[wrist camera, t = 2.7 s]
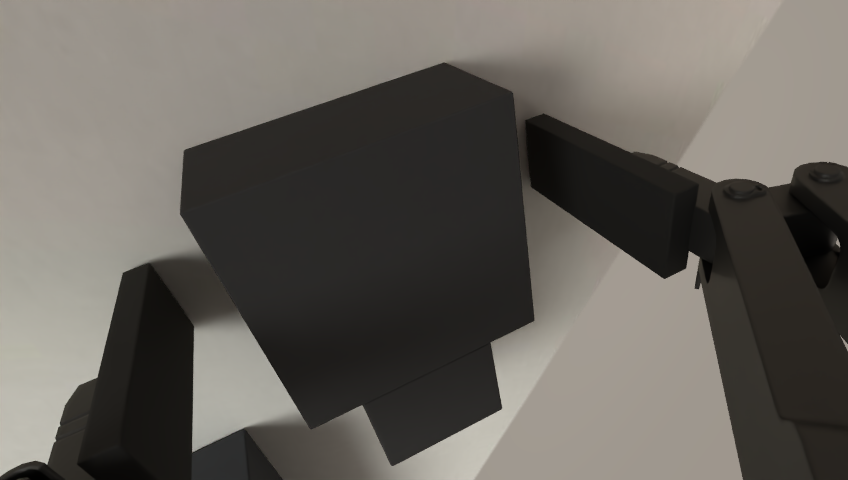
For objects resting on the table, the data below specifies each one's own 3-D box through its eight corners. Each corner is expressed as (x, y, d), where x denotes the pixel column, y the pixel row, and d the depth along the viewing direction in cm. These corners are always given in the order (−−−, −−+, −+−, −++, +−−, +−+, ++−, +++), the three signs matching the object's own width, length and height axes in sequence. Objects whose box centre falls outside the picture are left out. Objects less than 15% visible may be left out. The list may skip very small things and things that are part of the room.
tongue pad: (182, 149, 13) (178, 213, 10) (444, 62, 15) (513, 91, 11) (323, 404, 20) (347, 491, 16) (490, 325, 21) (541, 389, 18)
